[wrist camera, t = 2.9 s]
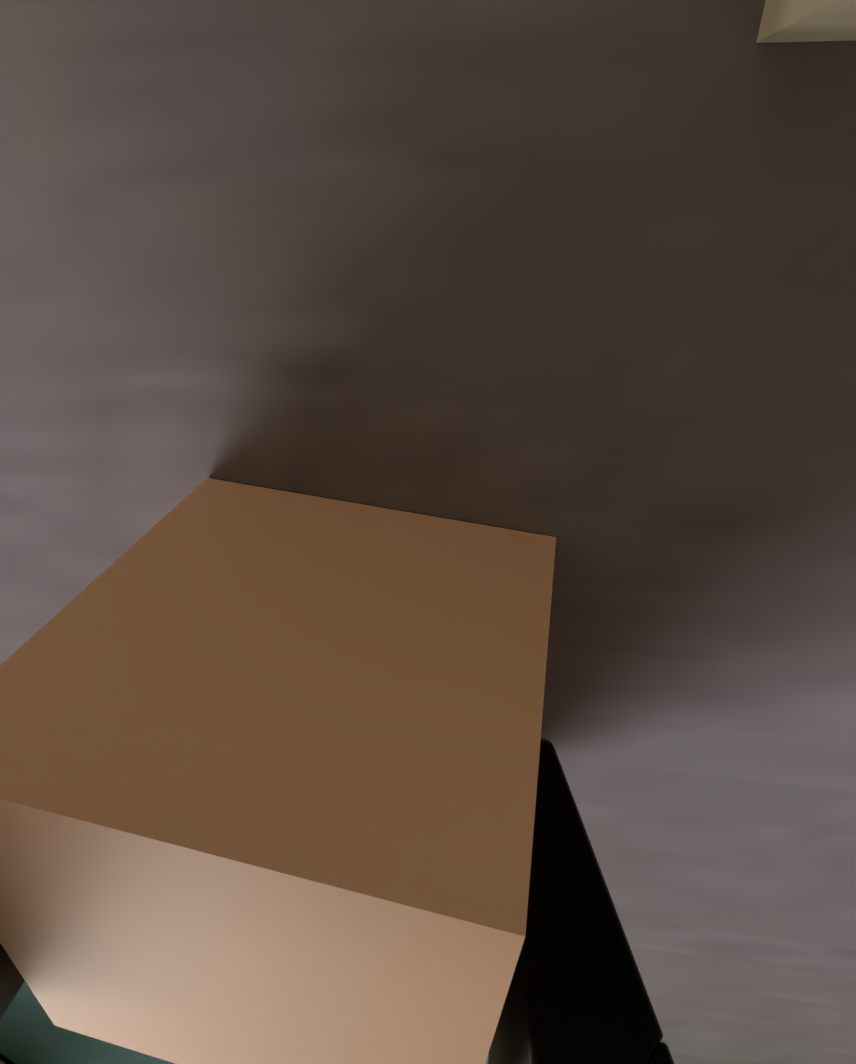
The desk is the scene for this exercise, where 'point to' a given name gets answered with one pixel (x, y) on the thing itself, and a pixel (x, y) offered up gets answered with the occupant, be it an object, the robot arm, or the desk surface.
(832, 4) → the birch block
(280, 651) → the tan cube
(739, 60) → the desk surface
